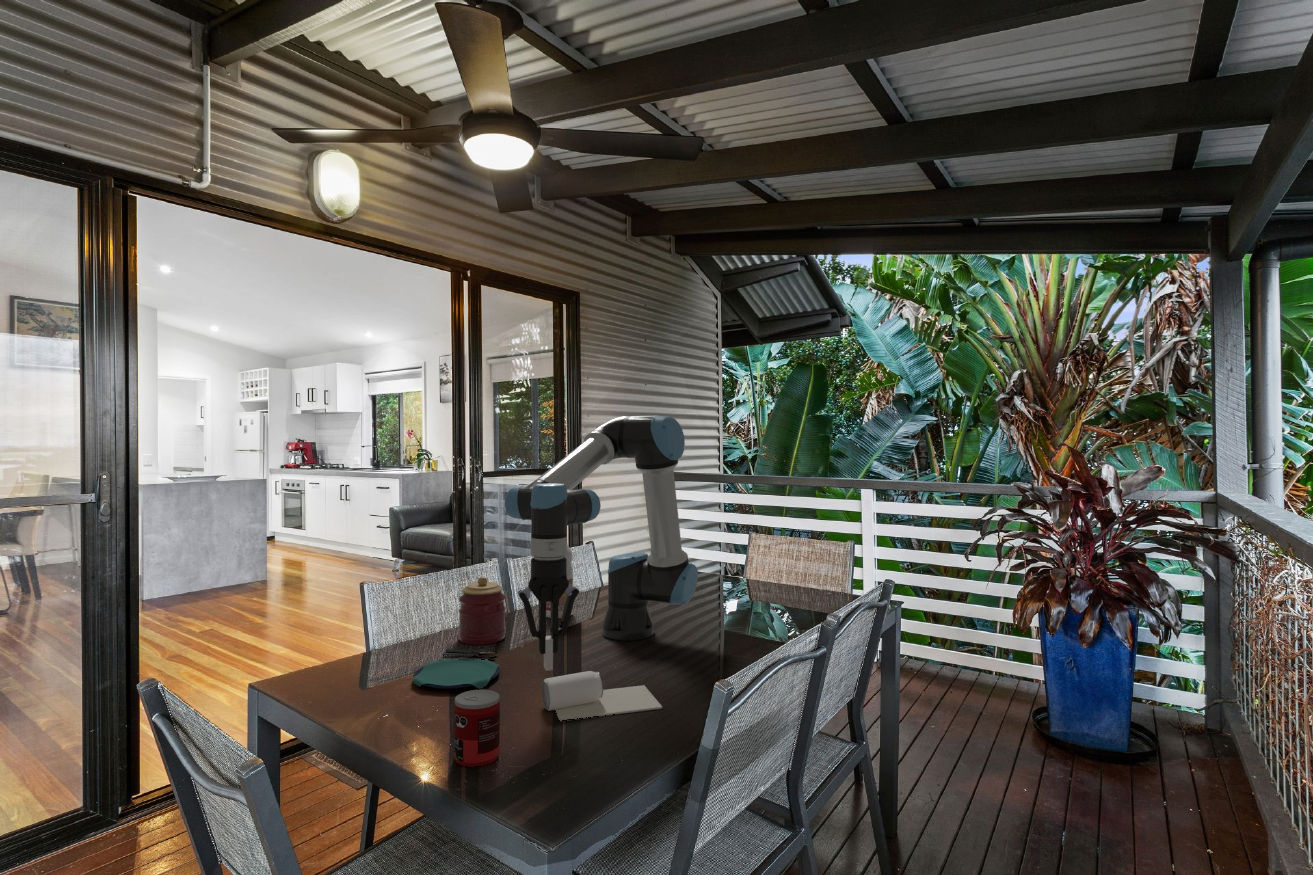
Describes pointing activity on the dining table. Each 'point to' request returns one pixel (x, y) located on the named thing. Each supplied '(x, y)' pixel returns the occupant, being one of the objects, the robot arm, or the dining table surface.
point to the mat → (613, 703)
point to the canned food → (476, 727)
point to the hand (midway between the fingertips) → (548, 668)
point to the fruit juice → (564, 596)
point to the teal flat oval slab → (457, 672)
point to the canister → (482, 613)
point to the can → (571, 690)
